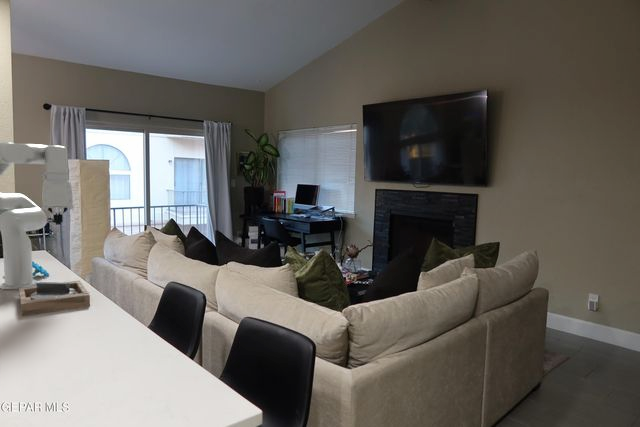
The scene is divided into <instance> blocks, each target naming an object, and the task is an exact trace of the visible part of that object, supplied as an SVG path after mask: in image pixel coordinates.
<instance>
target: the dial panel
mask: <svg viewBox="0 0 640 427" xmlns="http://www.w3.org/2000/svg"><path fill="white" fill-rule="evenodd" d="M62 283H69V288H72V289H75V291H76V294H72V295H65V296H58V297H50V298H43V299H36V300H31V298H30V295H31V294H33V293H35V292H37V285H35V286H29V287H21V288H19V289H18V297H19V298H18V299H19V305H20V310H21V317H23V316H24V315H25V316H32V315H36V314H37V315H38V314H45V313H51V312H57V311H63V310H64V311H65V310H70V309H76V308H77V309H78V308H82V307H89V306H91V300H90V299H91V298H90V296H91V295H90V292H89V291H87V288H85V286H84V285H83V283H82V282H81V280H72V281H64V282H62Z"/></svg>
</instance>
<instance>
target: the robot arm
mask: <svg viewBox="0 0 640 427" xmlns="http://www.w3.org/2000/svg"><path fill="white" fill-rule="evenodd" d="M68 162H69V160H68V149H67V147H66V146H63V145H47V144H38V143H37V144H35V143H14V142H10V141H9V142H7V141H6V142H5V141H4V142H3V141H0V178H1V177H2V176H3V175H4V174H5V172H6V171H7V170H8V169H9V168H10V167H12V166H11V165H13V164H27V165H44V166H45V170H44V171H45V173H43V174H40V178H41V179H44V181H43V183H42V190H41V192H42V193H41V202H42V204H41V208H40V207H39V206H38V205H37V204H36V203H35V202H34V201H32V200H31V199H30V198H28V196H26V195H24V194H23V193H18V192H9V193H8V192H7V193H5V192H0V234H1V240H2V251H3V252H2V253H3V254H2V255H3V272H4V275H3V276H2V279H3V280H4V282H3V283H1V284H0V288H1V289H2V290H19V288H21V287H29V286H37V283H39V282H38V280H37V279H34V278H33V277H34V276H33V272H34V271H33V269H34V268H33V267H32V261H33V254H32V251H33V249H32V240H31V239H30V237H29V236H28V234H27V233H26V232H30V231H38V230H40V229H43V228H44V227H45V226H46V225H47V221H48V218H47V215H46V213H45V212H44V211H49V212H50V213H51V214H52V215H53V218H52V219H53V223H55V225H56V226H57V225H59V226H61V225H62V223H63V220H64V219H63V218H64V217H63V215H64V213H66V211H70V210H73V209H74V206H73V203H74V200H73V199H74V197H73V188H72V183H71V181H70V180H69V173H68V172H69V171H68V170H69V167H68V164H69V163H68ZM57 208H59V212H57V210H56V209H57Z"/></svg>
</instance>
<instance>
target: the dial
mask: <svg viewBox="0 0 640 427" xmlns="http://www.w3.org/2000/svg"><path fill="white" fill-rule="evenodd" d="M36 286H37V292H35V293H33V294H31V295H30V298H31V300H36V299H43V298H50V297H58V296H65V295H72V294H76V291H75V289H72V288H69V283H63V282H54V281H53V282H52V281H51V282H50V281H49V282H48V281H39V282H38V283H37V285H36Z"/></svg>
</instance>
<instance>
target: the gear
mask: <svg viewBox="0 0 640 427" xmlns="http://www.w3.org/2000/svg"><path fill="white" fill-rule="evenodd" d="M32 269H34V271H33V277H34V276H36V275H37V274H38V273H40V274H41V275H43V276H44V277H47V278H48V277H50V273H49V272H47V270H46V269H45V268H43V266H42V265H39V264H38V263H35V261H33V260H32Z"/></svg>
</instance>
